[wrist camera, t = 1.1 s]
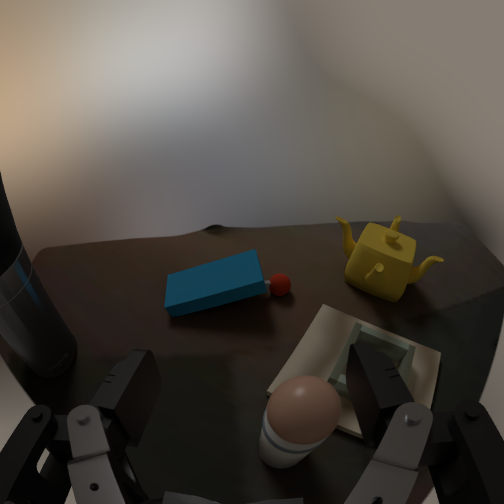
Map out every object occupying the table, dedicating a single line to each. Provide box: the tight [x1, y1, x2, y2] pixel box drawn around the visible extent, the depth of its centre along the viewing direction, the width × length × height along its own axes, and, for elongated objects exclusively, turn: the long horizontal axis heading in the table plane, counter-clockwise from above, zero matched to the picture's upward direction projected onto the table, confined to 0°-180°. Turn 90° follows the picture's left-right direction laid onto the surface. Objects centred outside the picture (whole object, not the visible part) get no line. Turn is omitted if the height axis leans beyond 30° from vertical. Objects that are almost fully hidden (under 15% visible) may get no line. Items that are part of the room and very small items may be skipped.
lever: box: [165, 249, 291, 316], centre depth 42 cm, size 7×7×18 cm
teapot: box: [336, 216, 444, 303], centre depth 43 cm, size 15×14×10 cm
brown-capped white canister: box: [258, 376, 342, 469], centre depth 19 cm, size 5×5×16 cm
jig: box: [266, 304, 441, 439], centre depth 29 cm, size 20×16×4 cm
